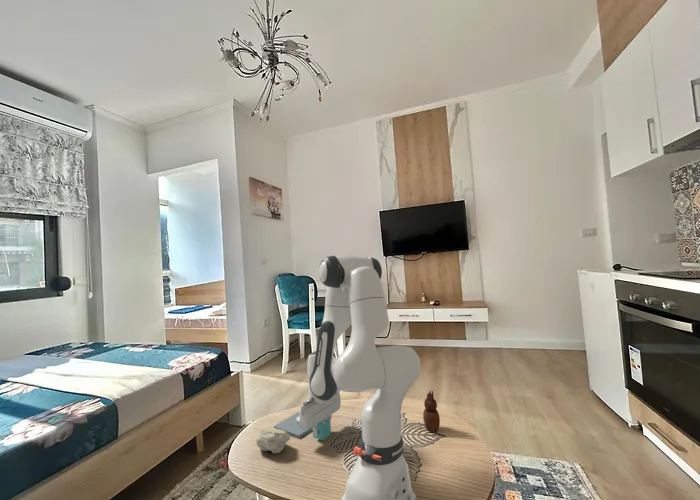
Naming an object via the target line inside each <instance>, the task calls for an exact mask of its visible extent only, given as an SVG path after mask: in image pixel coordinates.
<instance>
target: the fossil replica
mask: <svg viewBox="0 0 700 500" xmlns="http://www.w3.org/2000/svg"><path fill="white" fill-rule="evenodd" d="M290 440H291V436H290V435H289V434H287V432H286V431H283V430H280V429H276V428H274V427H268V428H266V427H265V428H263V429H262V430H261V432H260V433H259V434H258V436H257V437H256V440H255V443H256V445H257V447H258V448H259V449H260V450H261V451H263V452H264V451H266V452H268V451H270V452H271V453H272V454H280V453H281V452H282V451H283V450H284V449H285V447H286V443H288V442H289V441H290Z"/></svg>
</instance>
